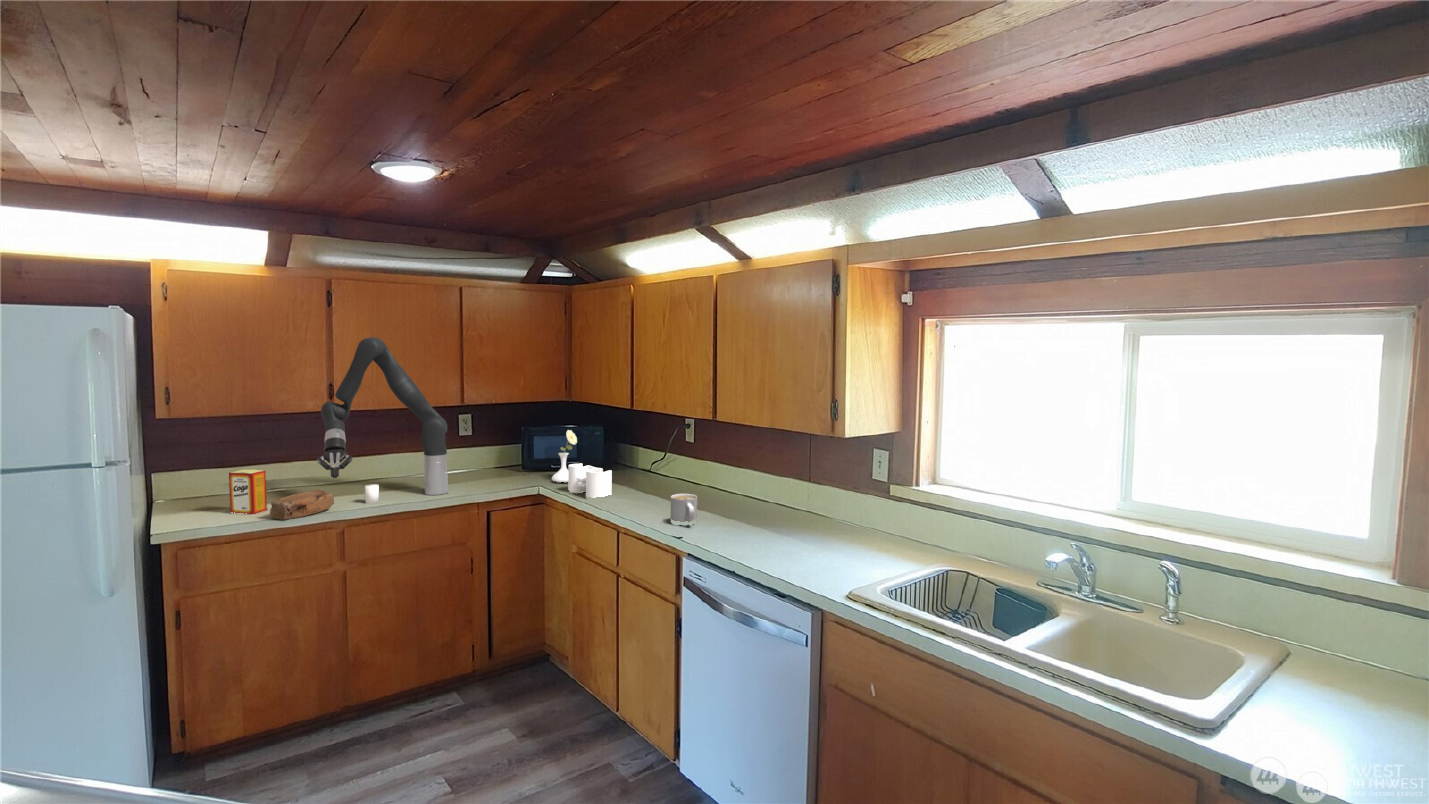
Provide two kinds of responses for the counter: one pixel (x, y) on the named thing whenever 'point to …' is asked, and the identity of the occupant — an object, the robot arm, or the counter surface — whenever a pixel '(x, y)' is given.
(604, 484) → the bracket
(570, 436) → the flower in vase
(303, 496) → the block
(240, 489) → the baking soda box
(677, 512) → the coffee mug
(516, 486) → the counter surface
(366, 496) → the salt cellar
